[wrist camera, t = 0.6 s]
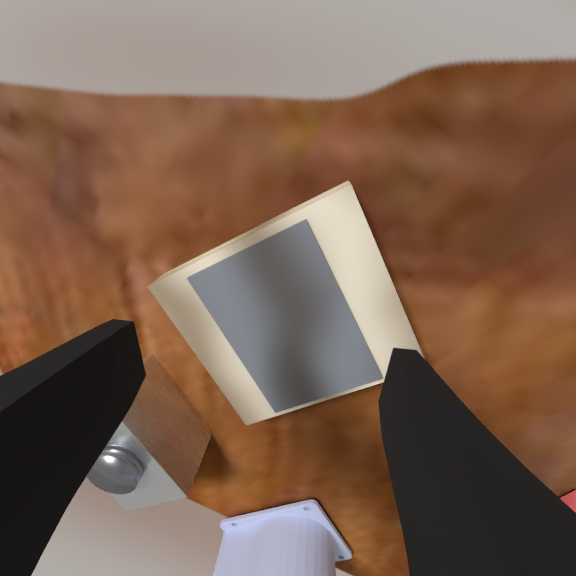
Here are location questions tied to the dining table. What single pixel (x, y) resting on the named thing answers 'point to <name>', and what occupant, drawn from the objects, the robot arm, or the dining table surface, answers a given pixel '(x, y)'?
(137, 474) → the housing
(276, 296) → the stand
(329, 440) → the dining table surface
